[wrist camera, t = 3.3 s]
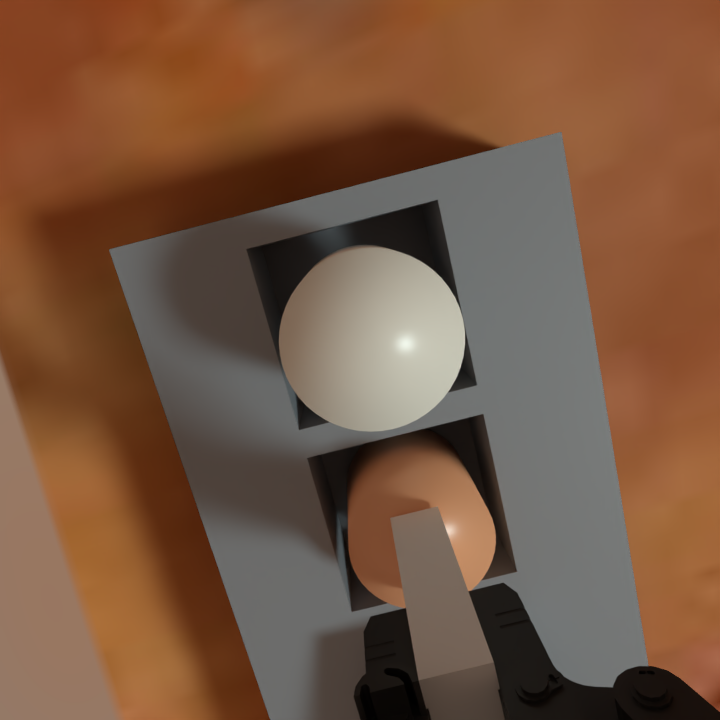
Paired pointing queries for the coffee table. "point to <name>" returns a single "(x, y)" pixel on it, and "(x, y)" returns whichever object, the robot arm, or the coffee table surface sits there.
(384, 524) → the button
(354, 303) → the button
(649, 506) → the coffee table surface
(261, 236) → the grey slotted block
